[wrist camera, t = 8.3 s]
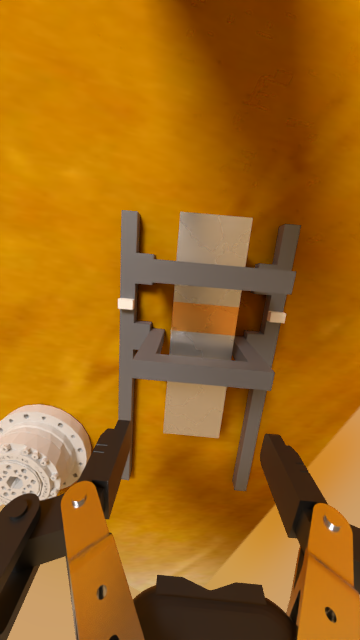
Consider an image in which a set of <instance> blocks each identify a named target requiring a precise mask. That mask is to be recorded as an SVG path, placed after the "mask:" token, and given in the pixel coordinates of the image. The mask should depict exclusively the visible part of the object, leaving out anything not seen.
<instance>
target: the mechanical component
mask: <svg viewBox="0 0 360 640" xmlns="http://www.w3.org/2000/svg"><path fill="white" fill-rule="evenodd" d="M90 456H91V444H90V440H89V436H88V434H87V433H86V431H85V429H84V428H83V426H82V425H81V424H80V423H79V422H78V421H77V420H76V419H75V418H74V417H72V416H71V415H70V414H68V413H66V412H64V411H63V410H61V409H58V408H55V407H52V406H47V405H40V404H38V405H27V406H23V407H20V408H18V409H16V410H15V411H13V412H12V413H10V414H9V415H7V416H6V417H5V418H4V419H3V420H1V421H0V505H2V504H5V505H7V504H8V503H9V502H10V501H12V500H13V499H15V498H16V497H18V496H20V495H23V494H27V493H33V494H36V495H37V496H38V497H39V500H45V499H49V498H53V497H55V496H56V495H57V494H58V492H59V490H60V489H63V488H66V487H69V486H71V485H72V484H73V483H74V482H76V481H77V480H78V479H79V478H80V476H81V474H82V472H83V470H84V468H85V466H86V464H87V462H88V460H89V458H90Z"/></svg>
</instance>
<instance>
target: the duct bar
mask: <svg viewBox="0 0 360 640" xmlns="http://www.w3.org/2000/svg"><path fill="white" fill-rule="evenodd" d="M252 221H253V218H248V217H236V216H224V215H213V214H201V213H189V212H180V223H179V236H178V249H177V261H180V262H192V263H203V264H215V265H226V266H238V267H245V266H246V260H247V253H248V247H249V240H250V234H251V227H252ZM241 292H242V290H234V289H222V288H211V287H199V286H188V285H176V284H175V288H174V301H173V314H172V327H171V340H170V353H169V355H177V356H188V357H199V358H210V359H221V360H231V356H232V350H233V343H234V337H235V330H236V324H237V318H238V311H239V305H240V298H241ZM226 389H227V387H224V386H213V385H203V384H192V383H181V382H170V381H167V391H166V404H165V417H164V430H163V433H169V434H180V435H190V436H201V437H211V438H219V434H220V427H221V421H222V414H223V408H224V401H225V395H226Z"/></svg>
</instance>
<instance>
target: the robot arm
mask: <svg viewBox="0 0 360 640" xmlns="http://www.w3.org/2000/svg"><path fill="white" fill-rule="evenodd" d="M131 425H132V422H131V421H129V420H118V422H117V424H116V426H115V429H107V430H106V431H105V432H104V433H103V434H102V435H101V436H100V438H99V440H98V442H97V444H96V446H95V448H94V450H93V452H92V454H91V456H90V458H89V460H88V462H87V464H86V466H85V468H84V470H83V472H82V474H81V476H80V478H79V479H78V481H77V483H76V484H74V485H72V486H71V487H70V488H69V489H68V490H67V491H66V492H65V493H64V494H62V495H60V496H56V497H53V498H49V499H45V500H39V497H38V496H37V495H36V494H33V493H27V494H23V495H20V496H18V497H16V498H15V499H13V500H12V501H10V502H9V503H8V504H7V505H6V506H5V507H4V508H3V509H2V511H1V512H0V640H7V638H8V636H9V633H10V631H11V629H12V626H13V624H14V622H15V620H16V617H17V615H18V613H19V611H20V608H21V606H22V604H23V602H24V600H25V597H26V595H27V593H28V591H29V588H30V586H31V584H32V581H33V579H34V577H35V575H36V572H37V570H38V568H39V566H40V564H43V563H46V562H49V561H52V560H55V559H58V558H61V557H64V556H66V562H67V570H68V579H69V586H70V594H71V602H72V610H73V618H74V628H75V635H76V640H360V597H359V594H360V528H357V527H355V526H352V525H350V524H349V523H348V522H347V520H346V519H345V518H344V516H343V515H342V514H341V513H340V512H338V511H337V510H336V509H335V508H333V507H331V506H329V505H328V504H327V502H326V500H325V499H324V497H323V495H322V493H321V492H320V490H319V488H318V487H317V485H316V483H315V482H314V480H313V478H312V477H311V475H310V473H308V470H307V468H306V466H305V465H304V463H303V461H302V460H301V458H300V456H299V455H298V453H297V452H296V451H295V450H294V449H293V448H292V447H291V446H287V445H285V443H284V441H283V439H282V438H281V436H280V435H276V434H265V436H264V440H263V444H262V449H261V453H260V461H261V466H262V469H263V471H264V474H265V477H266V479H267V482H268V485H269V487H270V490H271V493H272V495H273V498H274V501H275V503H276V506H277V509H278V511H279V514H280V517H281V519H282V522H283V525H284V527H285V530H286V533H287V535H288V537H289V538H297V539H298V541H299V543H300V548H299V552H298V558H297V563H296V569H295V575H294V580H293V586H292V591H291V596H290V601H289V605H288V608H287V612H286V613H285V612H284V611H283V610H282V609H281V608H280V607H278V606H277V605H276V604H275V603H273V602H272V601H270V600H269V599H267V598H265V596H264V593H263V588H262V585H256V584H246V583H233V584H230V585H227V586H224V587H221V588H218V589H215V590H207V589H205V588H203V587H201V586H199V585H197V584H195V583H193V582H191V581H189V580H187V579H185V578H183V577H174V576H164V575H157V583H156V586H153V587H150V588H148V589H146V590H144V591H143V592H141V593H140V594H139V595H138V596H136V597H135V598H134V599H132V596H131V593H130V590H129V586H128V583H127V580H126V576H125V573H124V570H123V566H122V563H121V560H120V557H119V553H118V550H117V547H116V543H115V540H114V537H113V535H112V533H109V530H108V527H107V524H106V520H105V519H109V517H110V514H111V511H112V507H113V504H114V501H115V497H116V494H117V491H118V488H119V484H120V481H121V478H122V475H123V471H124V468H125V465H126V461H127V458H128V455H129V451H130V446H131Z"/></svg>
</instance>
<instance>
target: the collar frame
mask: <svg viewBox="0 0 360 640" xmlns="http://www.w3.org/2000/svg"><path fill="white" fill-rule="evenodd" d="M300 228H301V225H292V224H284V225H282V226H280V227H279V231H278V236H277V242H276V247H275V253H274V258H273V263H272V264H260V263H259V264H255V268H249V267H238V266H226V265H215V264H203V263H192V262H180V261H168V260H157V259H155V256H156V255H154V254H144V253H139V238H140V214H139V213H138V212H137V211H126V210H122V225H121V290H120V298H119V299H118V309H120V356H119V420H129V421H131V422H132V425H131V446H130V451H129V455H128V458H127V461H126V465H125V468H124V471H123V475H122V478H121V479H124V480H129V478H130V474H131V467H132V438H133V409H134V381H135V378H137V379H148V380H159V381H170V382H181V383H192V384H203V385H213V386H224V387H235V388H246V389H249V393H248V399H247V404H246V410H245V415H244V421H243V426H242V431H241V437H240V442H239V448H238V453H237V458H236V464H235V469H234V475H233V480H232V481H233V486H234V490H238V491H246V488H247V483H248V479H249V474H250V469H251V464H252V459H253V454H254V450H255V445H256V440H257V435H258V430H259V426H260V421H261V416H262V411H263V406H264V401H265V397H266V392H267V390H268V391H271V388H272V384H273V379H274V374H275V372H274V371H273V370H272V369H271V368H272V363H273V358H274V353H275V348H276V344H277V339H278V334H279V329H280V324H281V323H285V318H286V313H284V312H283V310H284V305H285V300H286V295H287V294H292V290H293V285H294V280H295V276H296V271H292V267H293V262H294V257H295V252H296V247H297V242H298V238H299V233H300ZM154 283H165V284H176V285H188V286H199V287H211V288H222V289H234V290H245V291H251V293H253V294H262V295H267V296H266V301H265V307H264V312H263V318H262V323H261V328H260V332H259V331H248V330H244V336H235V337H234V343H233V350H232V355H233V357H234V359H235V361H232V360H221V359H210V358H199V357H188V356H177V355H166V354H160V352H161V349H162V346H163V343H164V332H165V329H154V328H152V322H147V321H137V295H138V284H148V285H153V284H154ZM136 350H138V352H137V353H136V355H135V352H136Z"/></svg>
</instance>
